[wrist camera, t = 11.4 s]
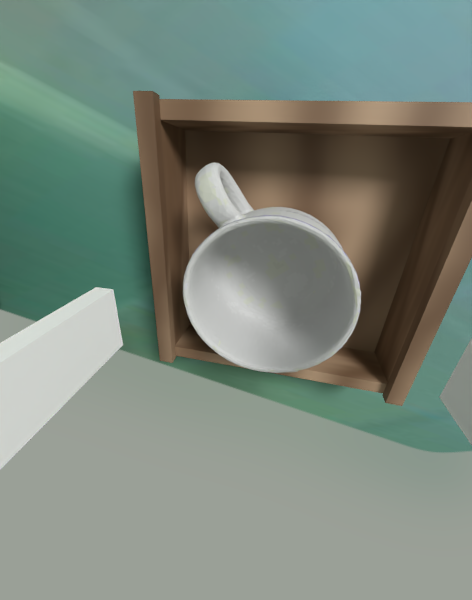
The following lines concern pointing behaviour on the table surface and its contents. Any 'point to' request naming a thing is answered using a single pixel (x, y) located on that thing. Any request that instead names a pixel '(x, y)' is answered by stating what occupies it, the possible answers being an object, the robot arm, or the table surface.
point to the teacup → (268, 282)
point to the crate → (321, 212)
